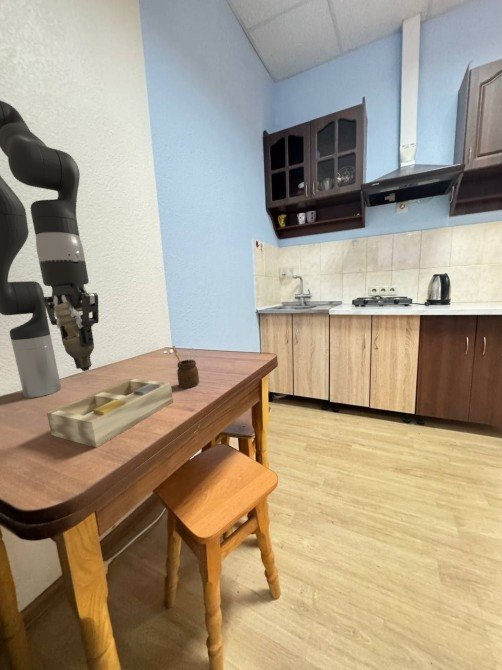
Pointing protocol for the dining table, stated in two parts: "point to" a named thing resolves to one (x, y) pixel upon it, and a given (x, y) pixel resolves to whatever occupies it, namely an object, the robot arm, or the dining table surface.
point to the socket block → (109, 411)
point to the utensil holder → (187, 371)
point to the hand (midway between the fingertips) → (78, 345)
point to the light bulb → (73, 338)
